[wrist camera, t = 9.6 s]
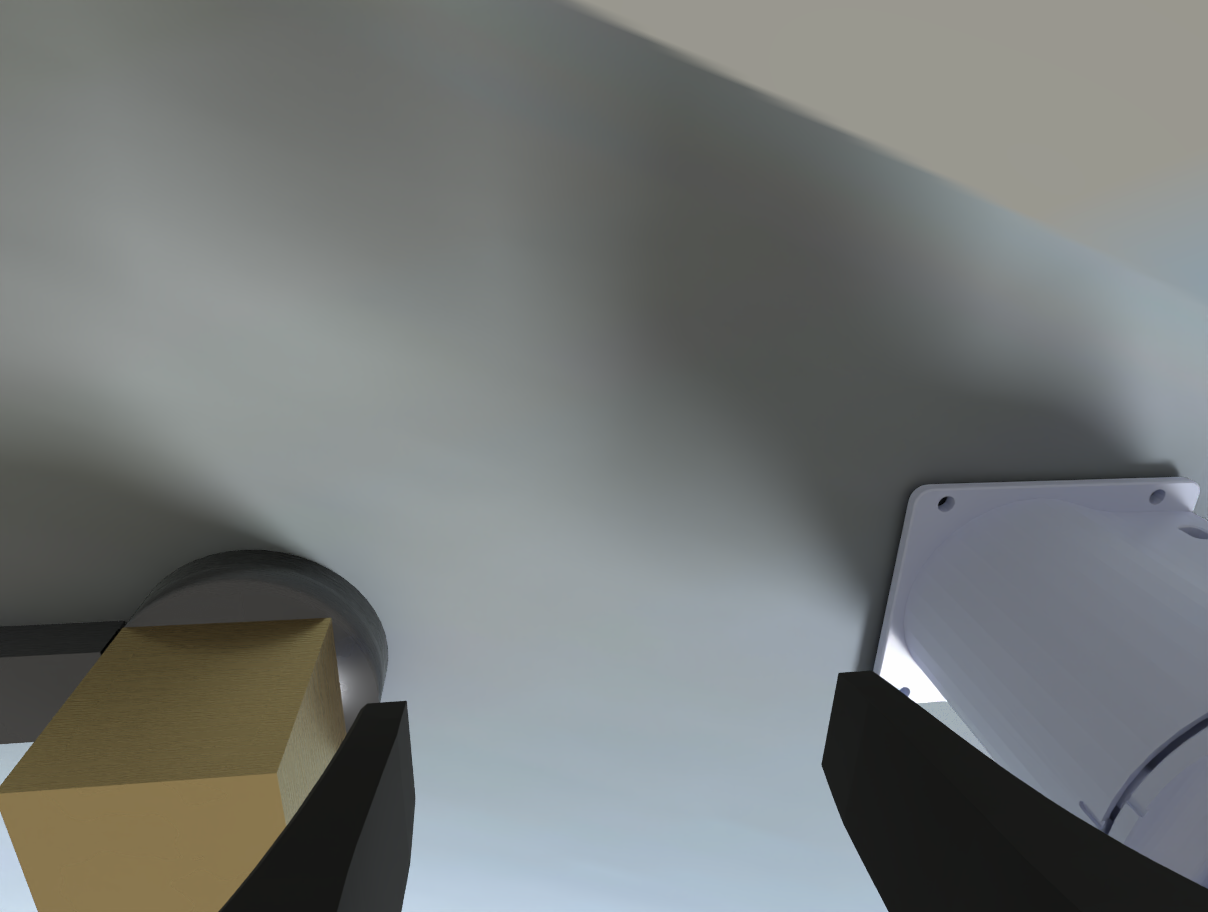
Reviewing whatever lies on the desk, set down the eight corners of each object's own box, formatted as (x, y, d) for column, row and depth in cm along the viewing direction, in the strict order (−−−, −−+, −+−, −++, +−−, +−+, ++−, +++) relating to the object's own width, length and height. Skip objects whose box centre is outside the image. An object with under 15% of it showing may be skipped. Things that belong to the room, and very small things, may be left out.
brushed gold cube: (331, 617, 19) (276, 773, 14) (350, 765, 21) (307, 945, 16) (123, 627, 19) (-7, 793, 14) (162, 778, 20) (60, 971, 16)
